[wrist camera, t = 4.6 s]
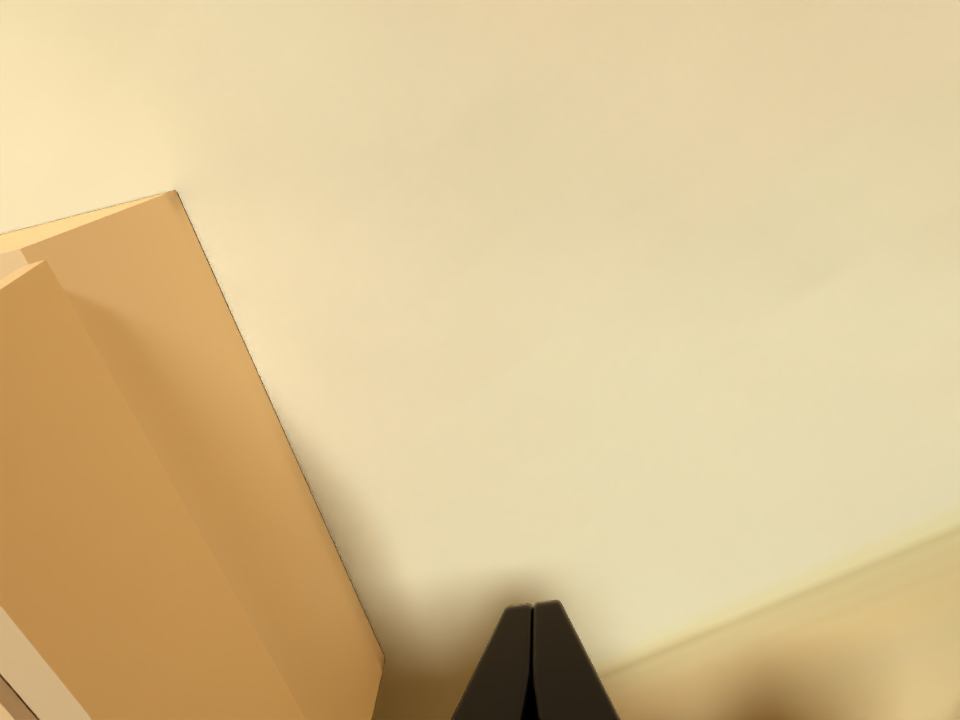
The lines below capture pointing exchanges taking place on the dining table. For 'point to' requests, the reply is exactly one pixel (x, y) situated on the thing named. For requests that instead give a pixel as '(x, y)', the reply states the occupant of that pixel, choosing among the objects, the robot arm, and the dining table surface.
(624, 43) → the dining table surface
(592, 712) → the robot arm
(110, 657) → the flap
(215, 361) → the carton
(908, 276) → the dining table surface
